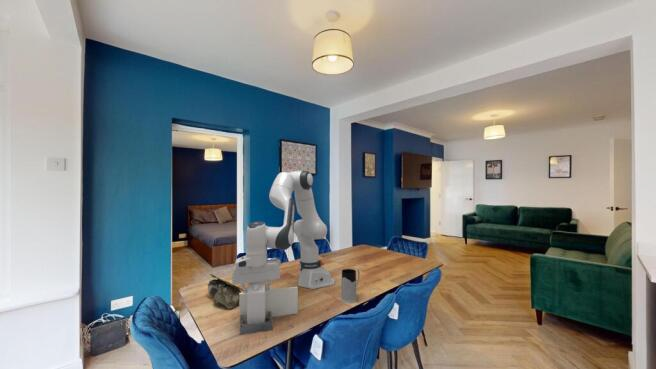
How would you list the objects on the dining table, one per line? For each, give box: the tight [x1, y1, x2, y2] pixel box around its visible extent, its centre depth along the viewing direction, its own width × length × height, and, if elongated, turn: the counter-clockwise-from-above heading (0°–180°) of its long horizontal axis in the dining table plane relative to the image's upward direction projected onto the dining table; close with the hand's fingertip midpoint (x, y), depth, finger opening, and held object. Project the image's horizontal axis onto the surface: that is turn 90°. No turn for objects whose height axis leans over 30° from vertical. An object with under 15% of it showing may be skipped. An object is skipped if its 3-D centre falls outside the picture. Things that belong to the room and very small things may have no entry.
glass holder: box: [340, 268, 360, 304], centre depth 142 cm, size 9×14×15 cm, turn 140°
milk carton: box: [246, 281, 267, 325], centre depth 115 cm, size 7×7×19 cm
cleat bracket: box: [239, 311, 274, 336], centre depth 114 cm, size 13×10×3 cm
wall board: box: [238, 286, 299, 323], centre depth 122 cm, size 26×2×12 cm, turn 107°
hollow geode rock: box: [207, 273, 244, 310], centre depth 138 cm, size 28×13×15 cm
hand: (257, 291), depth 116 cm, fingers open, 8 cm apart
